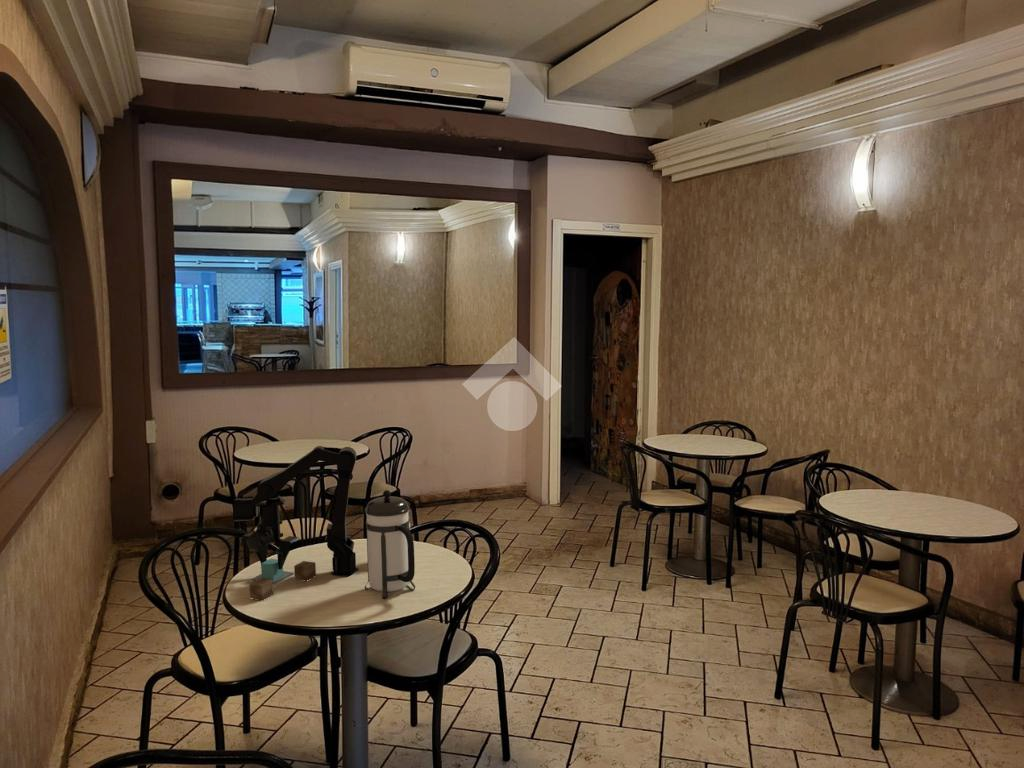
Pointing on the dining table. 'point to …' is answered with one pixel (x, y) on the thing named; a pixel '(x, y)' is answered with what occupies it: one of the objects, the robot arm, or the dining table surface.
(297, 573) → the walnut cube right
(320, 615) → the dining table surface
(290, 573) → the slate tile
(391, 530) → the coffee press
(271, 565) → the teal cube
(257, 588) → the walnut cube left
